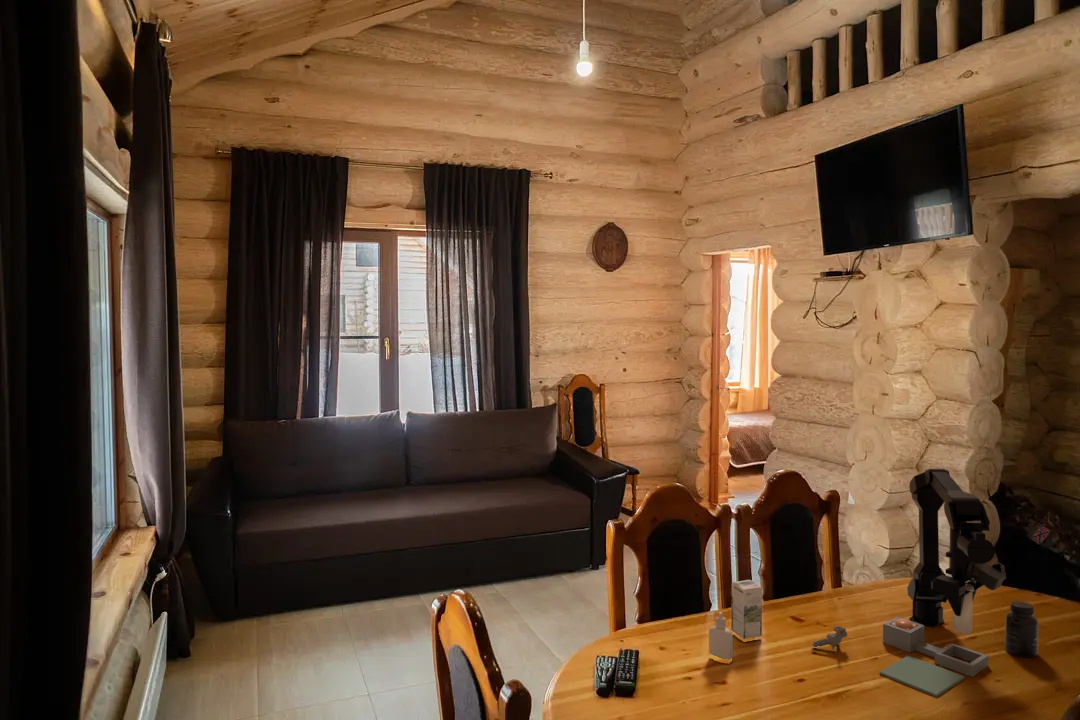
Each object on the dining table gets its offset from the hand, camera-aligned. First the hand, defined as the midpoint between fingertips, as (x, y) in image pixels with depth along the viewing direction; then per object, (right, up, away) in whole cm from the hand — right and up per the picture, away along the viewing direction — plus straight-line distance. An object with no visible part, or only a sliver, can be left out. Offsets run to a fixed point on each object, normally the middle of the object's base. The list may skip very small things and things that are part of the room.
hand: (962, 613), depth 174 cm
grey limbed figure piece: (-27, -13, +10) cm, 32 cm away
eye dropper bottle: (-56, -14, +6) cm, 58 cm away
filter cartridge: (0, -4, 0) cm, 4 cm away
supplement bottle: (+18, -12, +7) cm, 23 cm away
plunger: (-8, -12, +12) cm, 19 cm away
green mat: (-12, -13, -4) cm, 18 cm away
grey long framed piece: (-4, -12, +6) cm, 14 cm away
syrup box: (-46, -13, +18) cm, 51 cm away
